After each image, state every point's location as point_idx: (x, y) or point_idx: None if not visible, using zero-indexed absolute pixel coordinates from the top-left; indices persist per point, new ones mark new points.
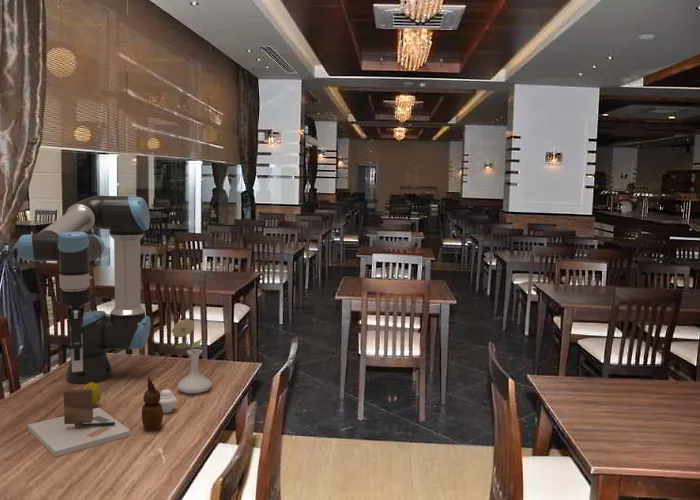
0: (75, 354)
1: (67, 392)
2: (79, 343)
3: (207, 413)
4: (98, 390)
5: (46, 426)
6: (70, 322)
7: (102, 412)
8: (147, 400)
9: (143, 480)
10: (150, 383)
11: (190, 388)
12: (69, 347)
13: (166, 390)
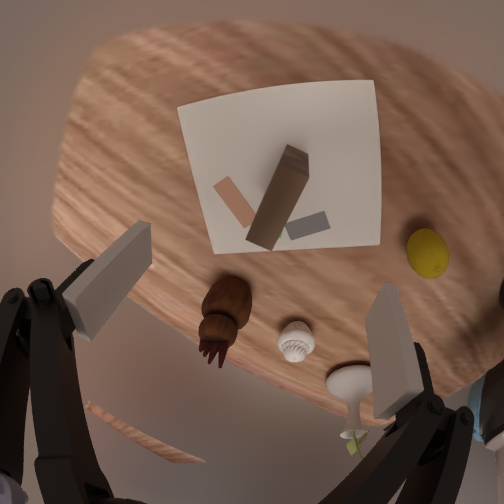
0: (69, 283)
1: (279, 177)
2: (18, 333)
3: (251, 356)
4: (414, 270)
5: (337, 111)
6: (39, 474)
7: (346, 241)
8: (205, 319)
9: (75, 216)
10: (212, 354)
11: (335, 377)
12: (33, 287)
13: (293, 358)
